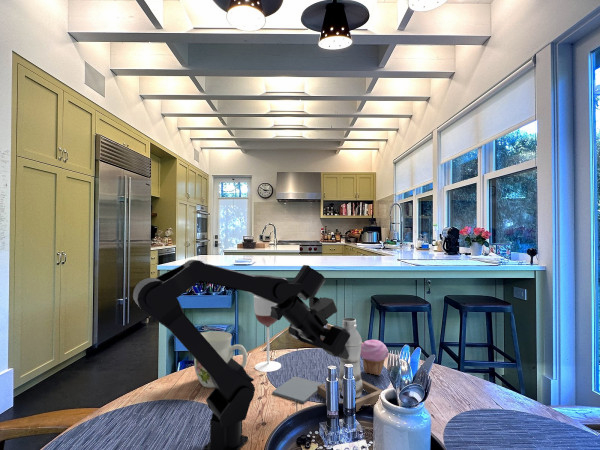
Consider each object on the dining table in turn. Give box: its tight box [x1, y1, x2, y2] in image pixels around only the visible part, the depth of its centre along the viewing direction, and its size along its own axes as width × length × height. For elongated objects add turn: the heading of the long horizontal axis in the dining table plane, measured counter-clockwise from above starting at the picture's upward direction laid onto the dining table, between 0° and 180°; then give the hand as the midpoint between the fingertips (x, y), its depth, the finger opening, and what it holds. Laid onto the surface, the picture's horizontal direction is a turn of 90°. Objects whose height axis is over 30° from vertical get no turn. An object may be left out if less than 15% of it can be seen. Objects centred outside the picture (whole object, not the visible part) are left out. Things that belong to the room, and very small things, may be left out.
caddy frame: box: [317, 378, 384, 413], centre depth 82 cm, size 12×12×2 cm
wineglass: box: [253, 295, 282, 373], centre depth 103 cm, size 9×10×23 cm
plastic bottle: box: [338, 317, 363, 400], centre depth 83 cm, size 6×7×20 cm
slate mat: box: [272, 376, 323, 404], centre depth 86 cm, size 11×10×1 cm
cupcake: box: [360, 339, 389, 376], centre depth 97 cm, size 9×9×10 cm
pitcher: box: [193, 331, 248, 389], centre depth 91 cm, size 11×18×14 cm, turn 83°
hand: (335, 352), depth 80 cm, fingers open, 9 cm apart
